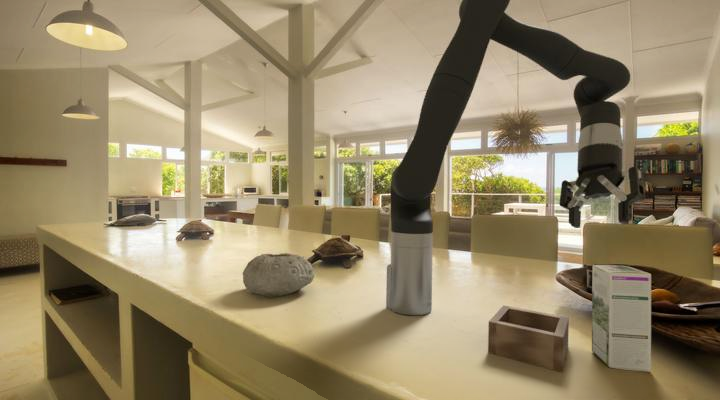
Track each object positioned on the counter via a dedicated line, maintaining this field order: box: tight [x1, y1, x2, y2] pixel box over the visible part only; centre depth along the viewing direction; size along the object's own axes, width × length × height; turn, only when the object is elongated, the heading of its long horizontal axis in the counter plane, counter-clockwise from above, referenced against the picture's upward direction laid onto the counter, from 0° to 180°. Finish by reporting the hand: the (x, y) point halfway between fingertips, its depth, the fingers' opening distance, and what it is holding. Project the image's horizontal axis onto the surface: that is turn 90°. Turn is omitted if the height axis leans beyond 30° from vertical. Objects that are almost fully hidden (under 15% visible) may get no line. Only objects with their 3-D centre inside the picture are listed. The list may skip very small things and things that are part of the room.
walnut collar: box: [487, 305, 570, 373], centre depth 56 cm, size 10×10×5 cm
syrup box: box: [591, 264, 652, 373], centre depth 53 cm, size 6×6×14 cm
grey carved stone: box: [242, 252, 315, 297], centre depth 88 cm, size 18×18×10 cm
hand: (598, 225), depth 66 cm, fingers open, 8 cm apart
